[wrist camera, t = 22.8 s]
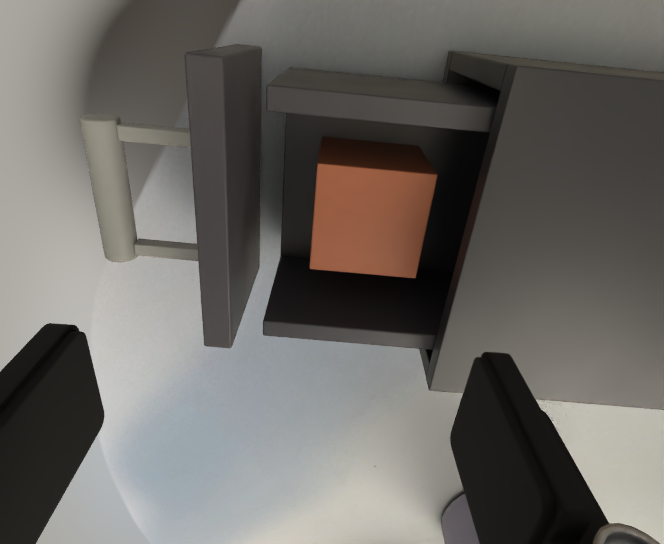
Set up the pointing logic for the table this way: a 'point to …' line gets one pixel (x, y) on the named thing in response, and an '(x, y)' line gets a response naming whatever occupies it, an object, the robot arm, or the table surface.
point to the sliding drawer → (298, 193)
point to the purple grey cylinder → (459, 523)
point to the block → (370, 207)
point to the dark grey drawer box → (562, 235)
